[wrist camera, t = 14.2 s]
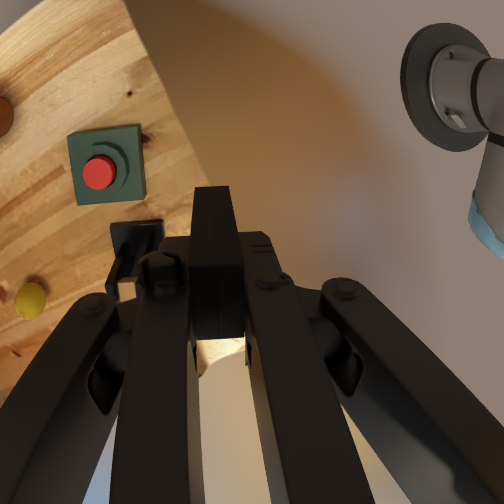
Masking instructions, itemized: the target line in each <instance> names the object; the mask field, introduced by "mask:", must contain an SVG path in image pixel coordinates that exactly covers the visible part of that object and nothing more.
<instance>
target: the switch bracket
mask: <svg viewBox="0 0 504 504" xmlns="http://www.w3.org/2000/svg"><path fill="white" fill-rule="evenodd" d="M109 227H110V233H111V238H112V243H113V248H114V252H115V257H116V258H115V261H114V263H113V265H112V268H111V270H110V273H109V275H108V278H107V280H106V283H105V289H106V292H107V294H110V295H111V296H112V297H113V298H114V299H115V303H119V302H120V295H119V288H118V282H119V281H120V280H121V279H122V278H125V277H137V281H136V288H137V293H138V296H140V295H141V292H142V286H141V282H140V277H139V272H138V267H137V263H138V261H139V260H140V258H142V257H143V256H145V255H146V254H148V253H151V252H154V251H158V248H159V244H160V243H161V242H162V241H163V240H164V239H165V231H164V222H163V220H150V221H135V222H121V223H111V225H110V226H109Z"/></svg>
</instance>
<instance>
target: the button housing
mask: <svg viewBox="0 0 504 504" xmlns="http://www.w3.org/2000/svg"><path fill="white" fill-rule="evenodd" d="M67 141H68V149H69V157H70V164H71V171H72V177H73V183H74V189H75V195H76V200H77V205H78V206H79V205H89V204H99V203H110V202H121V201H133V200H144V198H145V196H146V184H145V174H144V163H143V151H142V138H141V124H136V125H127V126H119V127H111V128H104V129H97V130H90V131H84V132H78V133H73V134H71V135H69V136H67ZM96 156H106V157H108V158H110V159H111V160H112V161H113V163H114V165H115V168H116V173H115V177H114V179H113V180H112V181H111V183H110V184H109V185H108V186H107V187H105V188H104V189H100V190H96V189H93V188H91V187H89V186H88V185H87V184H86V182H85V181H84V178H83V169H84V167H85V165H86V164H87V163H88V162H89V161H90V160H91V159H93V158H94V157H96Z"/></svg>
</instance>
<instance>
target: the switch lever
mask: <svg viewBox="0 0 504 504" xmlns="http://www.w3.org/2000/svg"><path fill="white" fill-rule="evenodd" d="M136 281H137V277H125V278H122V279H121V280H120V281H119V282H118V288H119V295H120V302H123V301H127V300H130V299H133V298H136V297H138V293H137V288H136Z"/></svg>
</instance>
